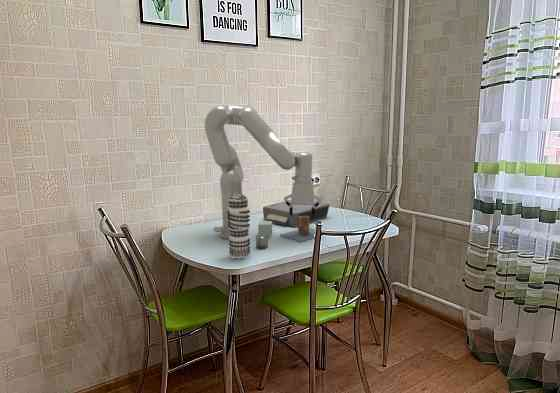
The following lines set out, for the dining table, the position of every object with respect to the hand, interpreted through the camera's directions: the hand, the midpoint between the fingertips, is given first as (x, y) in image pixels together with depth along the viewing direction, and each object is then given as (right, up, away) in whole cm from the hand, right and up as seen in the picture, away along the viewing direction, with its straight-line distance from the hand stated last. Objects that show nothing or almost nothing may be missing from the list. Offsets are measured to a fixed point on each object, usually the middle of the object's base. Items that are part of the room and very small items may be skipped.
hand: (301, 215), depth 194 cm
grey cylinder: (-18, -13, -15) cm, 27 cm away
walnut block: (+1, -8, +2) cm, 9 cm away
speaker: (-2, -4, +30) cm, 31 cm away
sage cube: (-17, -9, +3) cm, 20 cm away
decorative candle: (-26, -15, -24) cm, 39 cm away
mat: (+1, -9, +2) cm, 9 cm away
